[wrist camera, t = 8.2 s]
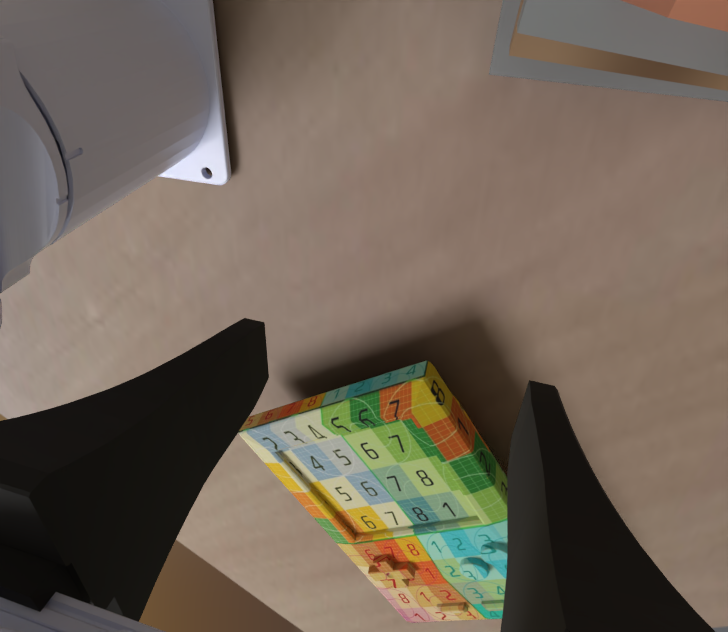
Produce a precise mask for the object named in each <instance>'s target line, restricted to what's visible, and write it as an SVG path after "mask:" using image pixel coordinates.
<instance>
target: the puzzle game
mask: <svg viewBox="0 0 728 632" xmlns="http://www.w3.org/2000/svg"><path fill="white" fill-rule="evenodd" d="M238 434H239V435H240V436H241V437H242V438H243V439H244V441H245V442H246V443H247V444H248V445H249V446H250V447H251V448H252V449H253V451H254V452H255V453H256V454H257V455H258V456H259V457H260V458H261V459H262V461H263V462H264V463H265V464H266V465H267V466H268V467H269V468H270V470H271V471H272V472H273V473H274V474H275V475H276V476H277V477H278V478H279V480H280V481H281V482H282V483H283V484H284V485H285V486H286V487H287V488H288V490H289V491H290V492H291V493H292V494H293V495H294V496H295V497H296V498H297V500H298V501H299V502H300V503H301V504H302V505H303V506H304V507H305V508H306V510H307V511H308V512H309V513H310V514H311V515H312V516H313V517H314V519H315V520H316V521H317V522H318V523H319V524H320V525H321V526H322V527H323V529H324V530H325V531H326V532H327V533H328V534H329V535H330V536H331V537H332V539H333V540H334V541H335V542H336V543H337V544H338V545H339V546H340V547H341V549H342V550H343V551H344V552H345V553H346V554H347V555H348V556H349V557H350V559H351V560H352V561H353V562H354V563H355V564H356V565H357V566H358V567H359V569H360V570H361V571H362V572H363V573H364V574H365V575H366V576H367V578H368V579H369V580H370V581H371V582H372V583H373V584H374V585H375V586H376V588H377V589H378V590H379V591H380V592H381V593H382V594H383V595H384V596H385V598H386V599H387V600H388V601H389V602H390V603H391V604H392V605H393V606H394V608H395V609H396V610H397V611H398V612H399V613H400V614H401V615H402V616H403V618H404V619H405V620H406V621H407V622H412V623H415V622H437V621H458V620H480V619H501V618H502V615H503V605H504V595H505V585H506V574H507V476H506V474H505V473H504V471H503V470H502V468H501V467H500V465H499V464H498V462H497V460H496V459H495V457H494V456H493V454H492V453H491V451H490V450H489V448H488V446H487V445H486V443H485V442H484V440H483V439H482V437H481V436H480V434H479V432H478V431H477V429H476V428H475V426H474V425H473V423H472V422H471V420H470V418H469V417H468V415H467V414H466V412H465V411H464V409H463V408H462V406H461V404H460V403H459V401H458V400H457V399H456V398H455V397H454V395H453V394H452V393H451V392H450V390H449V389H448V387H447V386H446V384H445V383H444V381H443V380H442V378H441V377H440V375H439V373H438V372H437V370H436V369H435V367H434V365H433V364H431V363H430V362H429V361H428V360H427V361H423V362H420V363H417V364H414V365H411V366H408V367H404V368H401V369H398V370H395V371H392V372H389V373H385V374H382V375H379V376H376V377H373V378H370V379H367V380H363V381H360V382H357V383H354V384H351V385H348V386H344V387H341V388H338V389H335V390H332V391H329V392H325V393H322V394H319V395H316V396H313V397H310V398H307V399H303V400H300V401H297V402H294V403H291V404H288V405H284V406H281V407H278V408H275V409H272V410H269V411H265V412H262V413H259V414H256V415H253V416H250V417H248V418H247V420H246V421H245V423H244V424H243V426H242V427H241V429H240V430H239V432H238Z"/></svg>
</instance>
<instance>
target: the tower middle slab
mask: <svg viewBox="0 0 728 632" xmlns="http://www.w3.org/2000/svg"><path fill="white" fill-rule="evenodd" d="M523 2H524V0H521V2H520V6H519V10H518V14H517V18H516V22H515V26H514V30H513V34H512V38H511V42H510V48H509V56H515V57H521V58H527V59H534V60H540V61H546V62H552V63H558V64H564V65H571V66H577V67H583V68H589V69H595V70H602V71H608V72H614V73H620V74H626V75H632V76H639V77H645V78H651V79H657V80H663V81H670V82H676V83H682V84H688V85H694V86H700V87H707V88H713V89H719V90H725V91H728V76H725V75H720V74H715V73H710V72H706V71H701V70H696V69H691V68H686V67H681V66H676V65H671V64H667V63H662V62H657V61H652V60H647V59H642V58H637V57H632V56H627V55H623V54H618V53H613V52H608V51H603V50H598V49H593V48H588V47H583V46H579V45H574V44H569V43H564V42H559V41H554V40H549V39H544V38H540V37H535V36H530V35H525V34H520V33H517V22H518V19H519V15H520V12H521V8H522V5H523Z"/></svg>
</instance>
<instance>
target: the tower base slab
mask: <svg viewBox="0 0 728 632" xmlns="http://www.w3.org/2000/svg"><path fill="white" fill-rule="evenodd" d="M520 2H521V0H503V3H502V8H501V13H500V19H499V24H498V29H497V35H496V40H495V45H494V50H493V56H492V61H491V66H490V71H489V75H498V76H507V77H516V78H525V79H533V80H542V81H551V82H560V83H568V84H577V85H586V86H595V87H603V88H612V89H621V90H630V91H638V92H647V93H656V94H665V95H673V96H682V97H691V98H700V99H708V100H717V101H726V102H728V91H725V90H719V89H713V88H707V87H700V86H694V85H688V84H682V83H676V82H670V81H663V80H657V79H651V78H645V77H639V76H632V75H626V74H620V73H614V72H608V71H602V70H595V69H589V68H583V67H577V66H571V65H564V64H558V63H552V62H546V61H540V60H534V59H527V58H521V57H515V56H509V48H510V42H511V38H512V34H513V30H514V26H515V22H516V18H517V14H518V10H519V6H520Z"/></svg>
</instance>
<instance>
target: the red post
mask: <svg viewBox="0 0 728 632" xmlns="http://www.w3.org/2000/svg"><path fill="white" fill-rule="evenodd" d="M621 1H624V2H627V3H629V4H632V5H635V6H638V7H640V8H643V9H646V10H648V11H651V12H654V13H657V14H659V15H662V16H665V17H667V18H672V19H676V20H680V21H684V22H688V23H692V24H697V25H701V26H705V27H709V28H713V29H717V30H722V31H726V32H728V0H621Z"/></svg>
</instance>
